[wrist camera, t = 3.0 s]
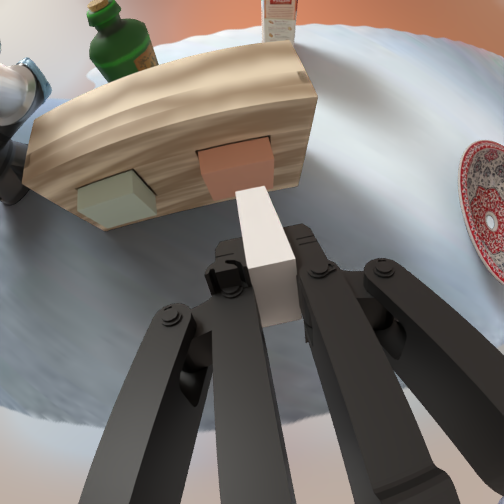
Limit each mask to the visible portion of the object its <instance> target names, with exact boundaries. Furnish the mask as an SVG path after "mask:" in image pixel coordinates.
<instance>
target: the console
mask: <svg viewBox="0 0 504 504" xmlns="http://www.w3.org/2000/svg"><path fill="white" fill-rule="evenodd" d="M317 99H318V96H317V94H316V91H315V89H314V87H313V85H312V83H311V81H310V79H309V77H308V75H307V73H306V71H305V69H304V67H303V65H302V63H301V61H300V59H299V57H298V55H297V53H296V51H295V49H294V47H293V45H292V44H291V42H290V40H284V41H274V42H265V43H257V44H250V45H244V46H237V47H232V48H226V49H221V50H216V51H211V52H207V53H202V54H198V55H194V56H190V57H186V58H182V59H178V60H175V61H171V62H168V63H164V64H161V65H158V66H154V67H151V68H148V69H145V70H142V71H139V72H136V73H134V74H131V75H128V76H125V77H123V78H120V79H118V80H115V81H112V82H110V83H107V84H105V85H103V86H100V87H98V88H96V89H93V90H91V91H89V92H87V93H85V94H82V95H80V96H78V97H76V98H74V99H72V100H70V101H68V102H66V103H64V104H62V105H60V106H58V107H56V108H54V109H52V110H51V111H49V112H47V113H45V114H43V115H42V116H40V117H38V118H36V119H35V120H34V123H33V127H32V131H31V135H30V140H29V144H28V149H27V154H26V160H25V165H24V171H23V178H22V184H23V185H25V186H26V187H28V188H30V189H31V190H33V191H35V192H36V193H38V194H40V195H41V196H43V197H45V198H47V199H48V200H50V201H52V202H53V203H55V204H57V205H59V206H60V207H62V208H64V209H66V210H67V211H69V212H71V213H73V214H74V215H76V216H78V217H80V218H82V219H83V220H85V221H87V222H89V223H91V224H92V225H94V226H96V227H98V228H100V229H102V230H103V231H108V230H112V229H115V228H119V227H122V226H126V225H130V224H133V223H137V222H141V221H145V220H148V219H152V218H156V217H160V216H164V215H168V214H172V213H176V212H180V211H184V210H188V209H192V208H196V207H201V206H205V205H209V204H214V203H218V202H223V201H227V200H232V199H236V196H235V197H230V198H226V199H221V200H217V201H213V199H212V196H211V194H210V192H209V190H208V188H207V186H206V184H205V182H204V179H203V177H202V175H201V170H200V164H199V157H198V151H202V150H207V149H211V148H215V147H220V146H224V145H229V144H233V143H238V142H243V141H248V140H253V139H259V138H264V137H268V138H269V142H270V145H271V149H272V152H273V156H274V181H273V189H268V190H267V192H270V191H275V190H280V189H285V188H291V187H296V186H298V184H299V180H300V176H301V171H302V167H303V163H304V158H305V154H306V149H307V145H308V140H309V136H310V131H311V127H312V122H313V118H314V113H315V108H316V104H317ZM131 170H133V171H134V172H135V174H136V175H137V176H138V177H139V178H140V179H141V180H142V181H143V182H144V184H145V185H146V186H147V187H148V188H149V189H150V190H151V191H152V192H153V193H154V194H155V198H156V209H157V215H155V216H151V217H147V218H144V219H140V220H136V221H132V222H129V223H125V224H122V225H118V226H115V227H111V228H106V227H104V226H102V225H101V224H99V223H97V222H95V221H94V220H92V219H90V218H88V217H87V216H85V215H83V214H82V213H80V212H78V211H77V194H78V189H79V188H82V187H85V186H87V185H90V184H93V183H95V182H98V181H101V180H104V179H107V178H110V177H113V176H116V175H119V174H122V173H125V172H128V171H131Z"/></svg>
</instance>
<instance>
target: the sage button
mask: <svg viewBox="0 0 504 504" xmlns="http://www.w3.org/2000/svg"><path fill="white" fill-rule="evenodd" d="M77 211H78V212H80V213H82V214H83V215H85V216H87V217H88V218H90V219H92V220H94V221H95V222H97V223H99V224H101V225H102V226H104V227H106V228H111V227H115V226H118V225H122V224H125V223H129V222H132V221H136V220H140V219H144V218H147V217H151V216H155V215H157V209H156V198H155V194H154V193H153V192H152V191H151V190H150V189H149V188H148V187H147V186H146V185H145V184H144V182H143V181H142V180H141V179H140V178H139V177H138V176H137V175H136V174H135V172H134V171H133V170H131V171H128V172H125V173H122V174H119V175H116V176H113V177H110V178H107V179H104V180H101V181H98V182H95V183H93V184H90V185H87V186H85V187H82V188H79V189H78V194H77Z"/></svg>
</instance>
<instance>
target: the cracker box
mask: <svg viewBox="0 0 504 504" xmlns="http://www.w3.org/2000/svg"><path fill="white" fill-rule="evenodd" d="M297 3H298V0H261V4H262V43H265V42H274V41H284V40H290V42H291V44H292V45H293V47H294V38H295V26H296V15H297Z"/></svg>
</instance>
